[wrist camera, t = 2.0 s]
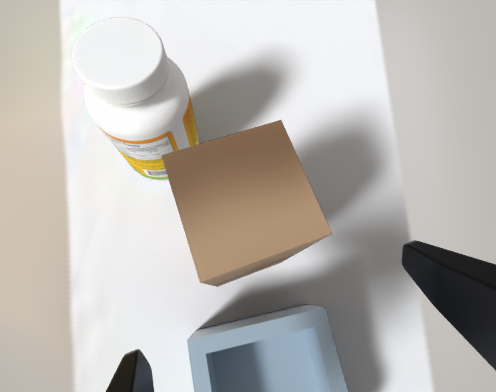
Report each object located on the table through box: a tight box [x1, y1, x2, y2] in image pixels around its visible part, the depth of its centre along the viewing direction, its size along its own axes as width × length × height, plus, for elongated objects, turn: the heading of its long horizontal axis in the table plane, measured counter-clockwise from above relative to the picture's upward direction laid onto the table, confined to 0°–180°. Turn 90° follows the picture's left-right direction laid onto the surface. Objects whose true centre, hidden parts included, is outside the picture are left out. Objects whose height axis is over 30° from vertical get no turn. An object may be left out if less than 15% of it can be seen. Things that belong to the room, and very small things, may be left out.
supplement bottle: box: [72, 17, 200, 181], centre depth 18 cm, size 5×5×10 cm
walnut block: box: [161, 120, 332, 286], centre depth 15 cm, size 4×4×11 cm
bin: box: [187, 304, 348, 392], centre depth 16 cm, size 7×7×4 cm
